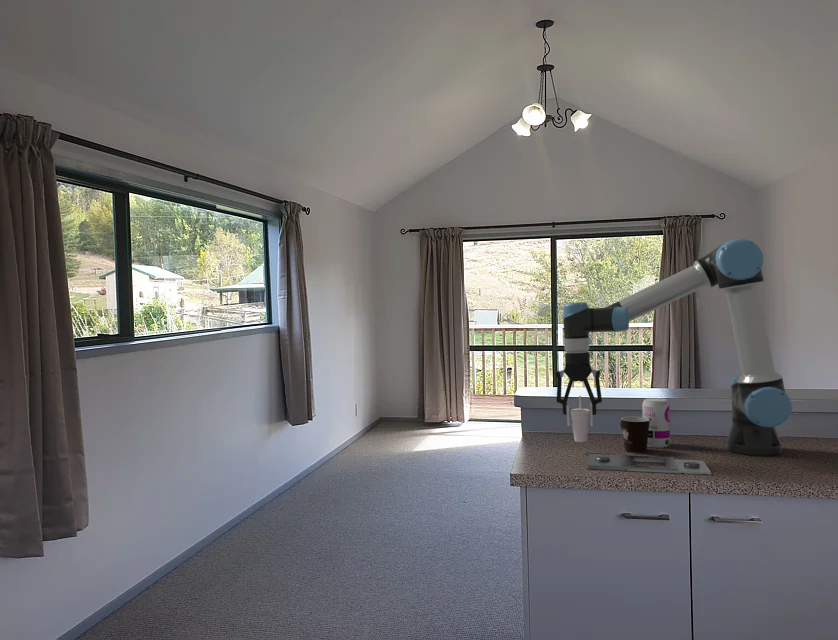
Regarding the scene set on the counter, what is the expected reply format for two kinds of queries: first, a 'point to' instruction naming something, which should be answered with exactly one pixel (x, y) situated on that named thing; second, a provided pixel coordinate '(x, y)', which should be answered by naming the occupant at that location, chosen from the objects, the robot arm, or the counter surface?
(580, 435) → the smoothie
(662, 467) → the link plate
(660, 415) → the supplement can
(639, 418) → the coffee mug
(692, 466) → the link plate
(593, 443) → the counter surface
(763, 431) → the robot arm
